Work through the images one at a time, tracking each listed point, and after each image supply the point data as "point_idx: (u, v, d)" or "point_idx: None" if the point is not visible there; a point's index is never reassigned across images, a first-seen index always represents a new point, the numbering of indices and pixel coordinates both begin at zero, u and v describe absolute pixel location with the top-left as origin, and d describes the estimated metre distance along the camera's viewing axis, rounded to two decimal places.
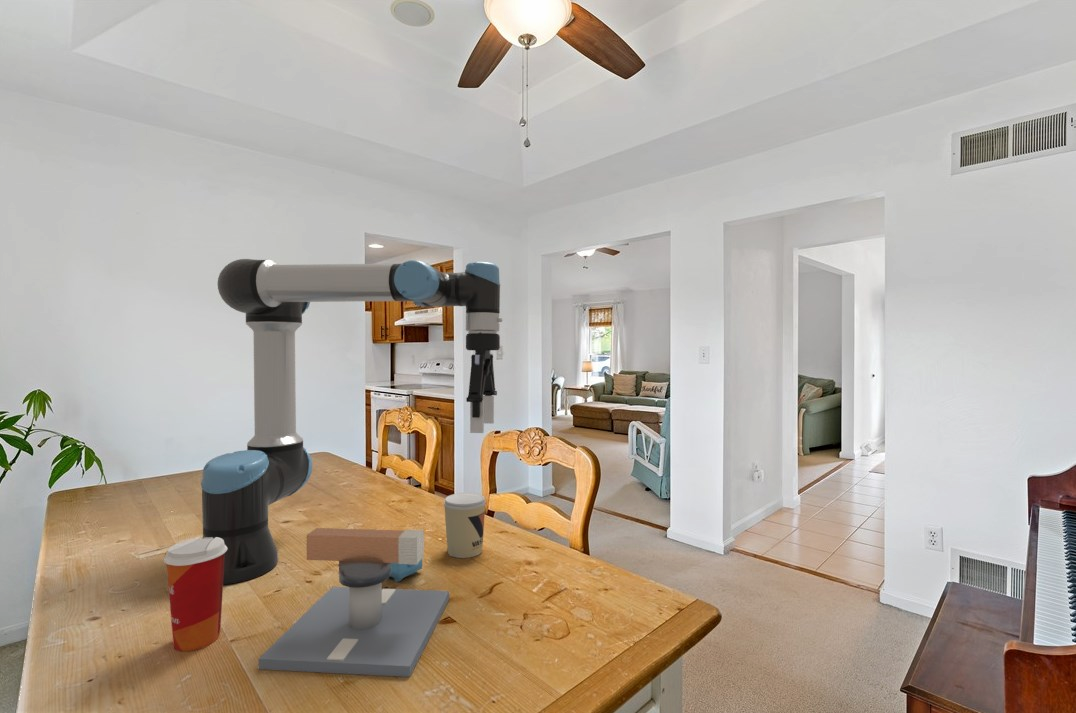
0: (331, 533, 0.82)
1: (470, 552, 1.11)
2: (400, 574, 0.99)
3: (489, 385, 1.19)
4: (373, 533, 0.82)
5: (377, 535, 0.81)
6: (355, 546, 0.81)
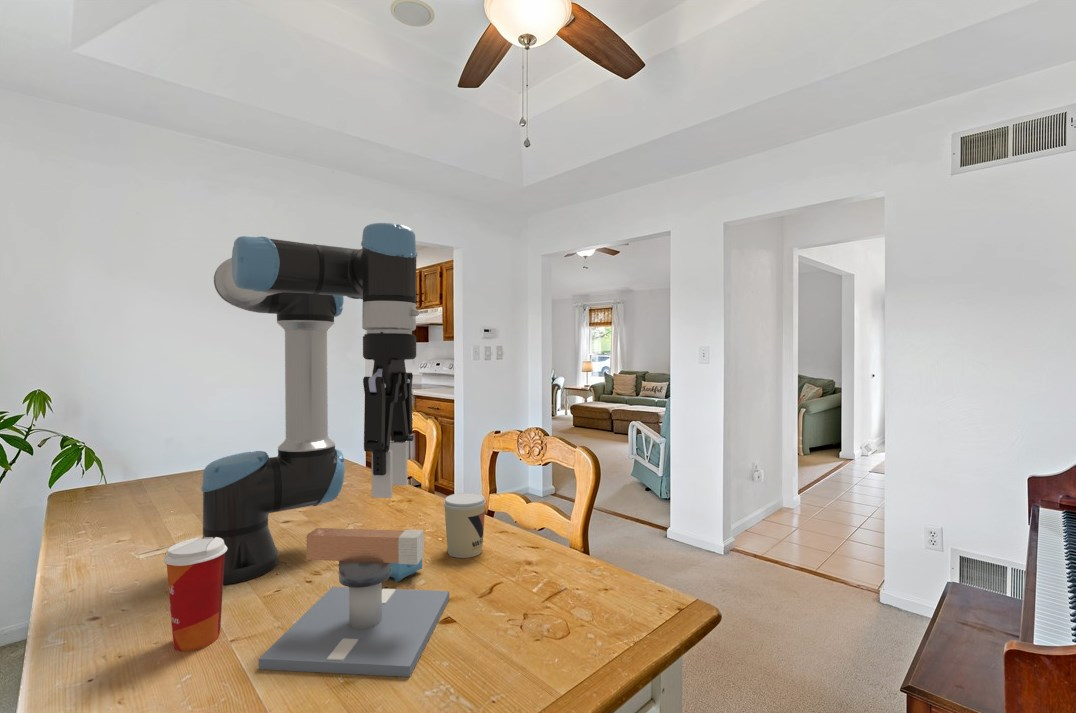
0: (331, 533, 0.82)
1: (470, 552, 1.11)
2: (400, 574, 0.99)
3: (401, 420, 0.77)
4: (373, 533, 0.82)
5: (377, 535, 0.81)
6: (355, 546, 0.81)
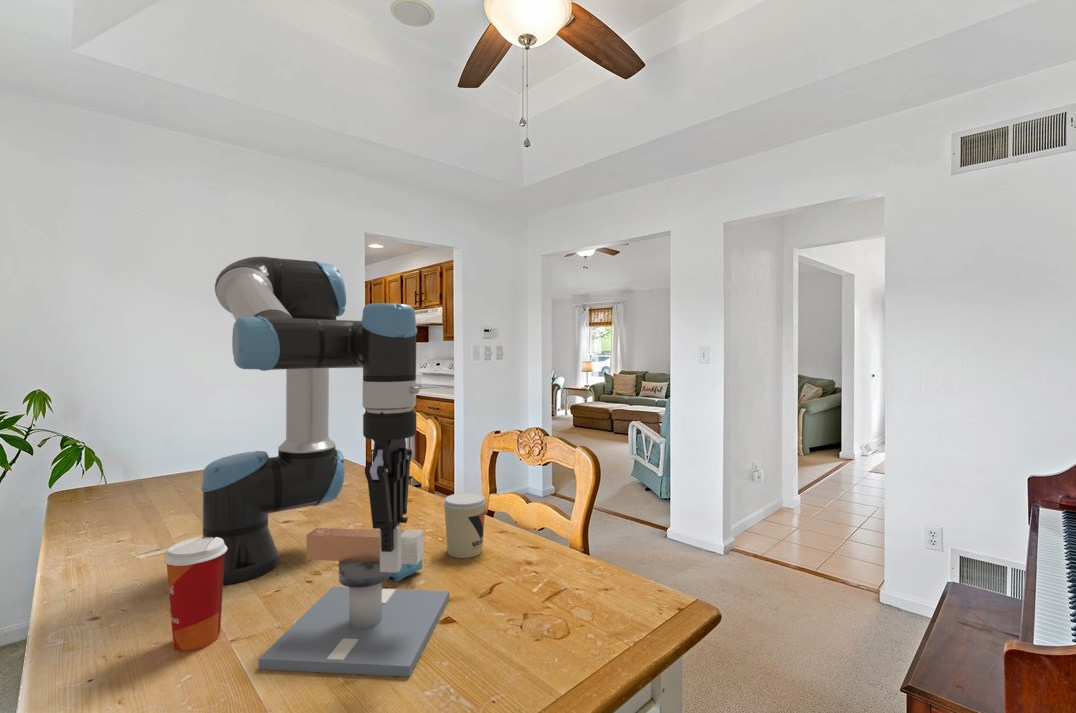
0: (331, 533, 0.82)
1: (470, 552, 1.11)
2: (400, 574, 0.99)
3: (396, 499, 0.75)
4: (373, 533, 0.82)
5: (377, 535, 0.81)
6: (355, 546, 0.81)
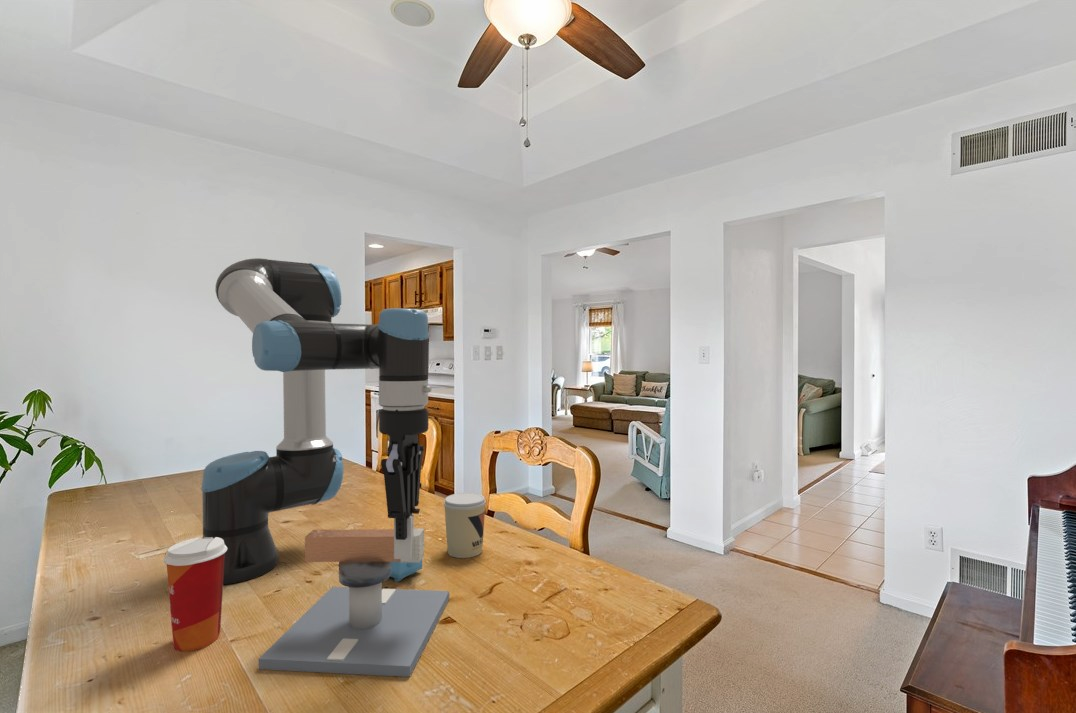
0: (330, 534, 0.82)
1: (470, 552, 1.11)
2: (400, 574, 0.99)
3: (409, 491, 0.80)
4: (373, 533, 0.82)
5: (378, 535, 0.81)
6: (355, 546, 0.81)
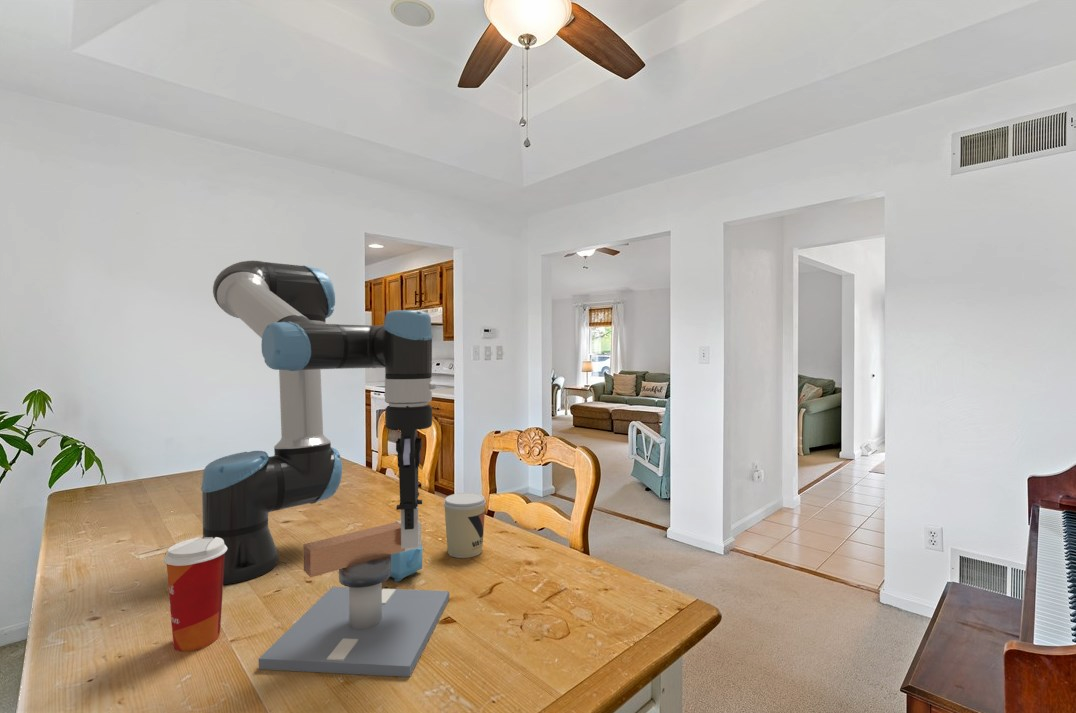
0: (332, 542, 0.78)
1: (470, 552, 1.11)
2: (400, 574, 0.99)
3: None
4: (373, 531, 0.83)
5: (382, 531, 0.83)
6: (363, 547, 0.80)
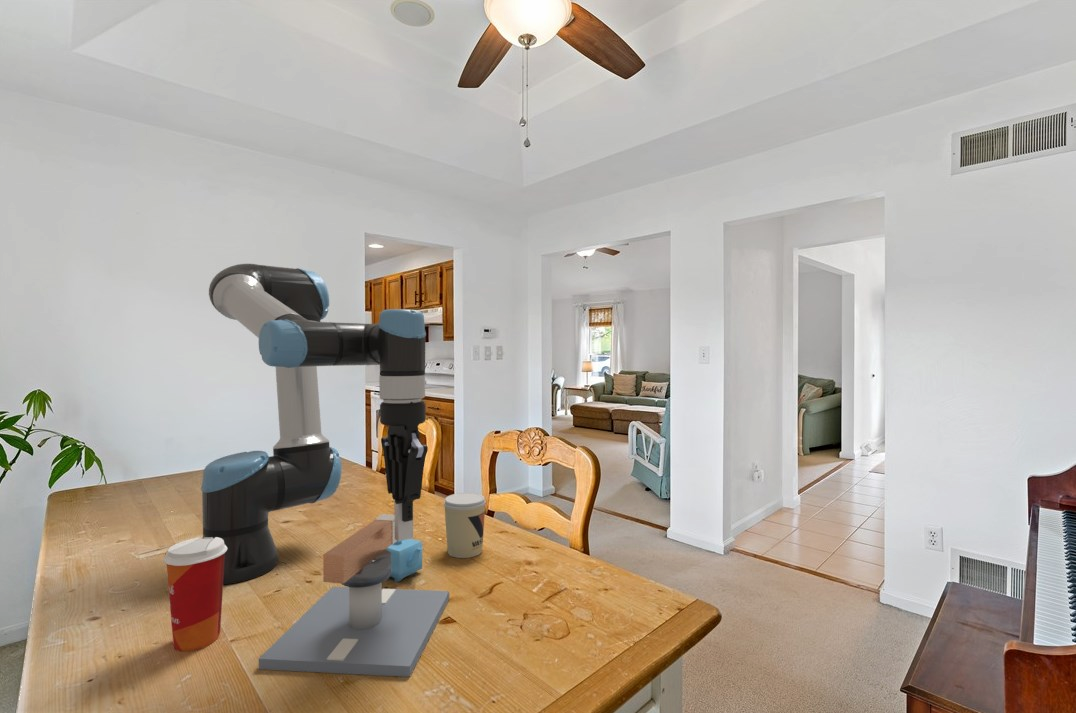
0: (349, 546, 0.77)
1: (470, 552, 1.11)
2: (400, 574, 0.99)
3: None
4: (370, 530, 0.84)
5: (378, 528, 0.84)
6: (371, 545, 0.81)
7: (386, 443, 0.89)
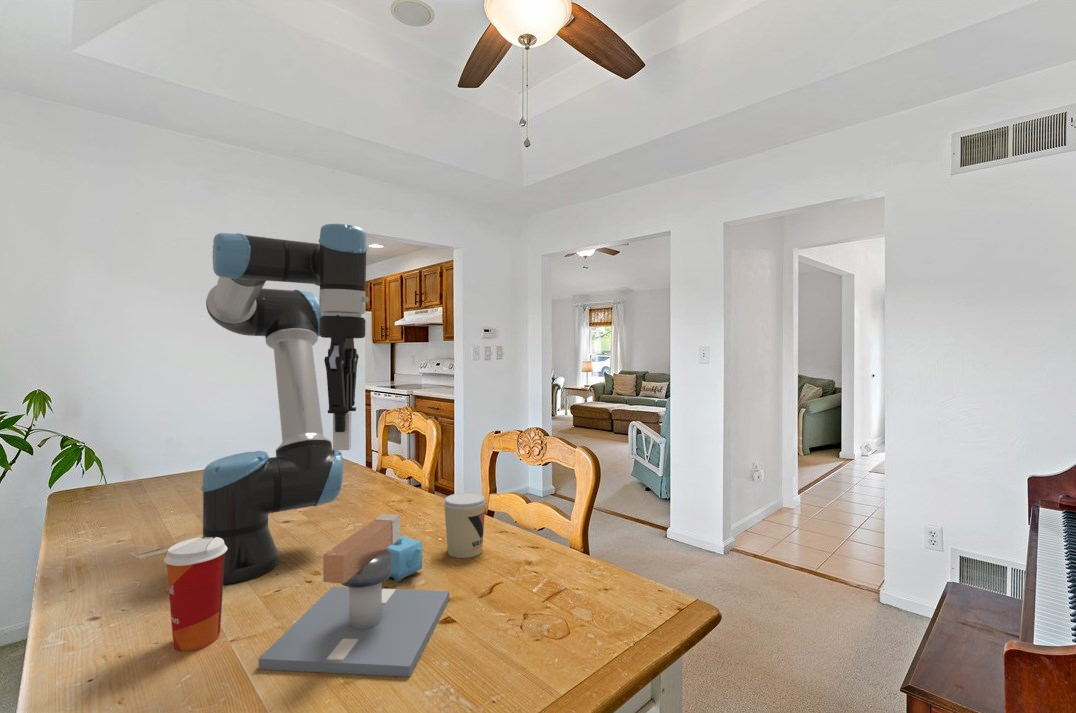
0: (349, 546, 0.77)
1: (470, 552, 1.11)
2: (400, 574, 0.99)
3: None
4: (370, 530, 0.84)
5: (378, 528, 0.84)
6: (371, 545, 0.81)
7: None
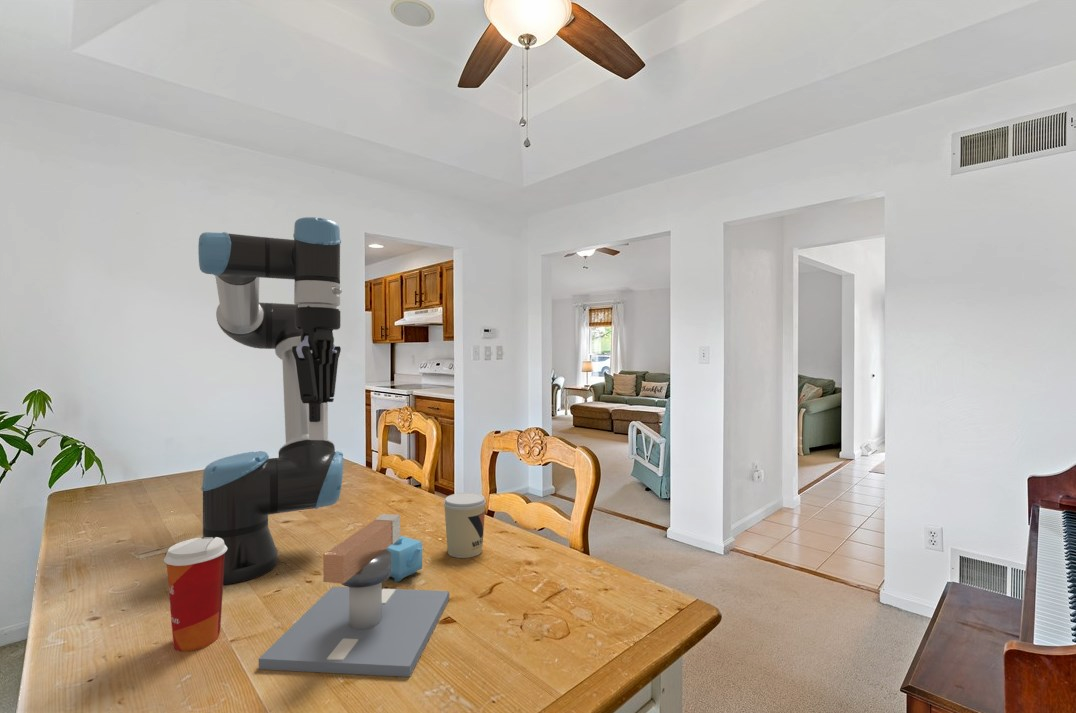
0: (349, 546, 0.77)
1: (470, 552, 1.11)
2: (400, 574, 0.99)
3: (323, 382, 0.91)
4: (370, 530, 0.84)
5: (378, 528, 0.84)
6: (371, 545, 0.81)
7: None
